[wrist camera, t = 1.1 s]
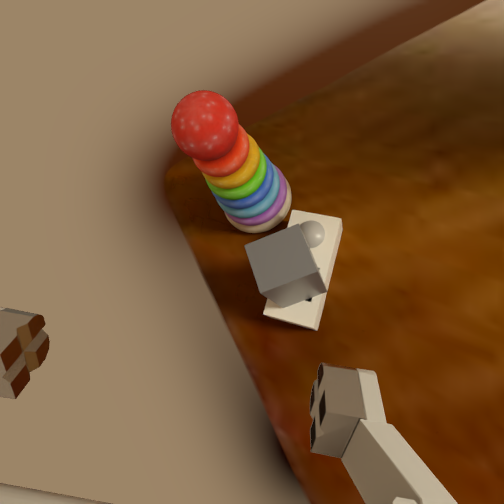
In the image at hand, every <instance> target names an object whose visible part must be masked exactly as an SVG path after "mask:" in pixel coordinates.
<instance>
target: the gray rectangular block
mask: <svg viewBox="0 0 504 504" xmlns="http://www.w3.org/2000/svg"><path fill="white" fill-rule="evenodd" d="M244 246H245V249H246V252H247V255H248V258H249V261H250V264H251V267H252V270H253V273H254V276H255V279H256V282H257V285H258V288H259V291H260V294H262V295H264V296H265V297H267V298H268V299H270V300H271V301H273V302H274V303H276V304H277V305H279V306H280V307H282V308H285V307H288V306H291V305H293V304H296V303H299V302H301V301H304V300H307V299H309V298H312V297H315V296H317V295H320V294H323V293H326V292H327V289H326V287H325V284H324V282H323V279H322V277H321V274H320V272H319V269H318V267H317V264H316V262H315V259H314V257H313V254H312V252H311V250H310V247H309V245H308V243H307V241H306V239H305V236H304V234H303V232H302V230H301V228H300V225H299V223H298V224H296V225H293V226H291V227H288V228H286V229H283V230H281V231H279V232H276V233H274V234H271V235H269V236H266V237H264V238H261V239H259V240H256V241H254V242H252V243H249V244H247V245H244Z"/></svg>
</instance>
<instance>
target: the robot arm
mask: <svg viewBox="0 0 504 504" xmlns="http://www.w3.org/2000/svg"><path fill="white" fill-rule="evenodd" d="M44 326H45V321H44V317H43V316H42V315H38V314H34V313H29V312H24V311H19V310H14V309H9V308H3V307H0V397H4V398H11V399H16V398H17V397H18V395H19V394H20V392H21V391H22V390H23V389H24V387H25V386H26V385H27V383H28V382H29V381H30V372H31V371H33V370H35V369H37V368H38V367H40V366H41V364H42V363H43V361H44V360H45V358H46V355H47V353H48V350H49V337H48V335H47V334H46V333H45V332H44V331H43V330H42V328H43V327H44ZM310 415H311V417H312V418H313V423H312V426H311V428H310V436H311V452H314V453H319V454H324V455H329V456H333V457H338V458H342V459H341V460H342V462H343V464H344V466H345V468H346V469H347V471H348V473H349V475H350V476H351V478H352V480H353V482H354V484H355V485H356V487H357V489H358V491H359V493H360V494H361V496H362V498H363V500H364V502H365V503H366V504H458V503H457V502H456V501H455V500H454V499H453V497H452V496H451V495H450V494H449V493H448V491H447V490H446V489H445V488H444V487H443V485H442V484H441V483H440V482H439V481H438V479H437V478H436V477H435V476H434V475H433V473H432V472H431V471H430V470H429V468H428V467H427V466H426V465H425V464H424V462H423V461H422V460H421V459H420V458H419V456H418V455H417V454H416V453H415V452H414V450H413V449H412V448H411V447H410V446H409V444H408V443H407V442H406V441H405V440H404V438H403V437H402V436H401V435H400V434H399V432H398V431H397V430H396V429H395V427H394V426H393V425H392V424H387V423H386V418H385V413H384V409H383V404H382V399H381V394H380V390H379V385H378V380H377V375H376V373H375V372H374V371H370V370H364V369H358V368H356V369H355V368H352V367H346V366H340V365H334V364H327V363H321V364H320V365H319V368H318V379H317V380H316V381H314V384H313V387H312V392H311V398H310ZM0 504H111V503H106V502H100V501H95V500H89V499H84V498H79V497H73V496H68V495H62V494H57V493H51V492H46V491H41V490H36V489H30V488H25V487H19V486H13V485H8V484H3V483H0Z"/></svg>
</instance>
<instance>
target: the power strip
mask: <svg viewBox="0 0 504 504" xmlns="http://www.w3.org/2000/svg"><path fill="white" fill-rule="evenodd" d="M298 223H299V225H300V228H301V230H302V232H303V234H304V236H305V239H306V241H307V243H308V245H309V247H310V250H311V252H312V254H313V257H314V259H315V262H316V264H317V267H318V269H319V272H320V274H321V277H322V279H323V282H324V284H325V287H326V289H327V290H328V286H329V282H330V278H331V274H332V270H333V266H334V262H335V258H336V254H337V250H338V246H339V242H340V238H341V234H342V230H343V228H342V221H341V218H336V217H331V216H325V215H320V214H314V213H308V212H303V211H297V210H292V213H291V216H290V220H289V223H288V227H291V226H293V225H296V224H298ZM288 227H287V228H288ZM326 294H327V292H326V293H323V294H320V295H317V296H315V297H312V298H309V299H307V300H304V301H301V302H299V303H296V304H293V305H291V306H288V307H285V308H282V307H280V306H279V305H277V304H276V303H274V302H273V301H271V300H270V299H268V298H267V302H266V306H265V309H264V313H263V314H264V315H266V316H268V317H270V318H274V319H277V320H281V321H284V322H288V323H291V324H295V325H298V326H302V327H306V328H309V329H313V330H316V331H317V330H318V326H319V322H320V318H321V314H322V310H323V306H324V302H325V298H326Z"/></svg>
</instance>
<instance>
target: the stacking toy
mask: <svg viewBox="0 0 504 504" xmlns="http://www.w3.org/2000/svg"><path fill="white" fill-rule="evenodd" d="M171 130H172V134H173V137H174V139H175V142H176V143H177V145H178V147H179V148H180V149H181V150H182V151H183V152H184V153H185V154H187V155H188V156H190V157H192V158H193V160H194V163H195V165H196V166H197V167H198V169H199V170H200V171H201V172H202V174H203V176H204V177H205V180H206V183H207V185H208V187H209V188H210V189H211V191H212V193H213V195H214V197H215V198H216V200H217V202H218V204H219V206H220V207H221V208H222V209H223V210H224V213H225V215H226V217H227V219H228V220H229V222H230V223H231V224H232V225H233V226H234V227H236V228H237V229H239V230H241V231H244V232H248V233H261V232H265V231H268V230H270V229H272V228H274V227H275V226H277V225H278V224H279V223H280V222H281V221H282V220H283V219H284V218H285V216H286V215H287V213H288V211H289V209H290V205H291V189H290V186H289V183H288V181H287V180H286V178H285V177H284V175H283V174H282V172H281V171H280V170H279V169H278V168H277V167H276V166H275V165H274V164H272V163H271V162H270V160H269V159H268V157H267V156H266V155H265V154H264V153H263V152H262V150H261V149H260V148H259V147H258V145H257V143H256V142H255V140H254V139H253V138H252V137H251V136H250V135H248V134H247V133H246V131H245V130H244V128H243V127H242V126H241V125H239V123H238V118H237V115H236V112H235V110H234V108H233V107H232V105H231V104H230V102H229V101H228V100H227V99H225V98H224V97H223V96H221V95H219V94H217V93H215V92H211V91H196V92H193V93H190V94H188V95H187V96H185V97H184V98H183V99H182V100H181V101H180V102H179V103H178V104H177V106H176V107H175V109H174V112H173V115H172V120H171Z"/></svg>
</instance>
